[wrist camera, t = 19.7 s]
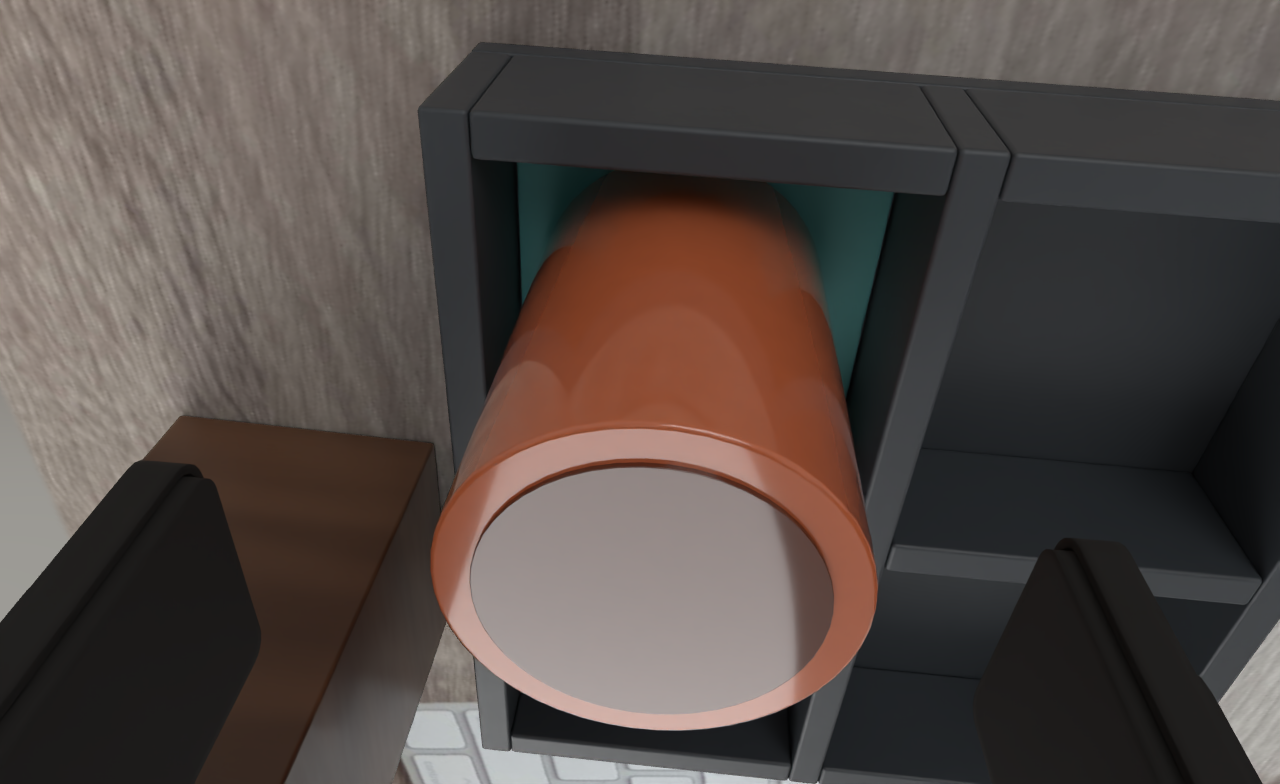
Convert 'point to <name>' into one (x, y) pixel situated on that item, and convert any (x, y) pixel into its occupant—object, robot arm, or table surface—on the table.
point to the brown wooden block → (322, 595)
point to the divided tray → (928, 352)
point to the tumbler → (664, 468)
